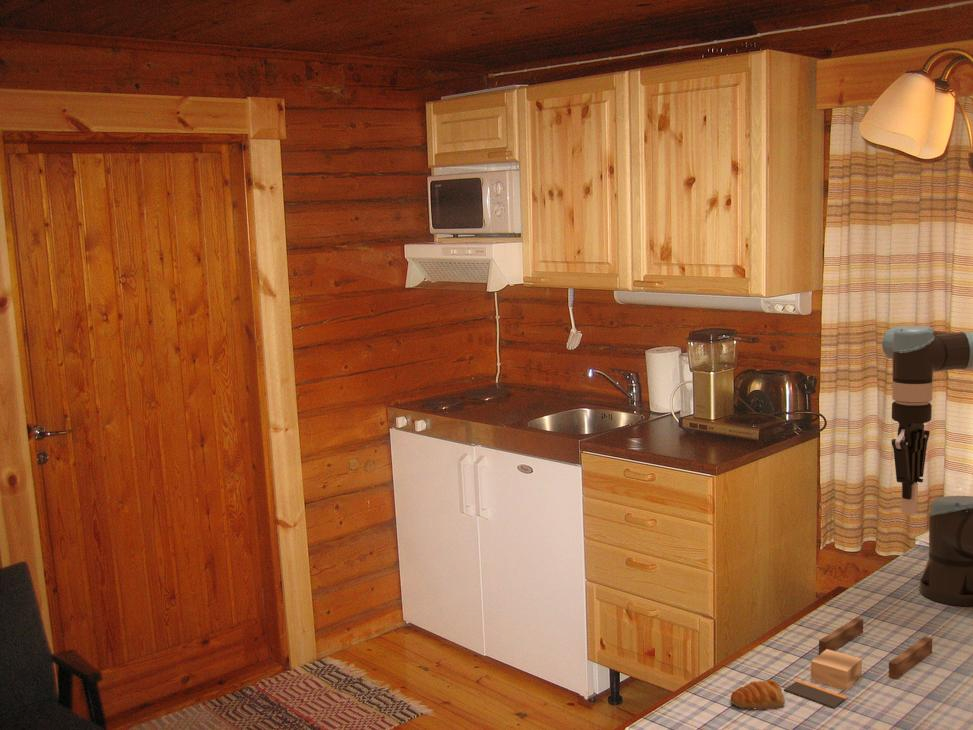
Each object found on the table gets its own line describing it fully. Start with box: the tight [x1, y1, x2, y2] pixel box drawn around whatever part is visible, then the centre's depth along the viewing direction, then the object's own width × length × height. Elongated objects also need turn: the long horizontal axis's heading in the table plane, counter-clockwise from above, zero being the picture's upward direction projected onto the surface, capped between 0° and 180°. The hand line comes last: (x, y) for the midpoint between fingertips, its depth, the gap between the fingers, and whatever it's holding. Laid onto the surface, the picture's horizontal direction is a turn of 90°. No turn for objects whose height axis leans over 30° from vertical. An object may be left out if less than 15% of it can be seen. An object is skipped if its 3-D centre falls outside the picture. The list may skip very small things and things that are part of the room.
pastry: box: [730, 678, 786, 710], centre depth 179 cm, size 9×7×4 cm
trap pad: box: [783, 679, 848, 709], centre depth 181 cm, size 5×10×1 cm, turn 43°
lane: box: [818, 616, 933, 680], centre depth 197 cm, size 16×16×3 cm
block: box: [810, 649, 863, 691], centre depth 187 cm, size 7×7×4 cm
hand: (909, 512), depth 202 cm, fingers closed
